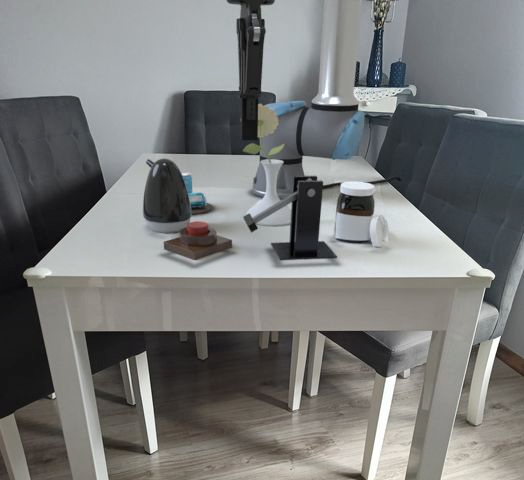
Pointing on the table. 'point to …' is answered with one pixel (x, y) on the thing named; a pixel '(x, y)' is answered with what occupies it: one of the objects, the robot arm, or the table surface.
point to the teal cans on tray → (196, 197)
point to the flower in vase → (268, 171)
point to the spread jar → (359, 215)
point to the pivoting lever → (269, 211)
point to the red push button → (197, 228)
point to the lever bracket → (305, 223)
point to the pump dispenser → (166, 198)
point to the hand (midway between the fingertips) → (249, 139)
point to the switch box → (197, 244)
